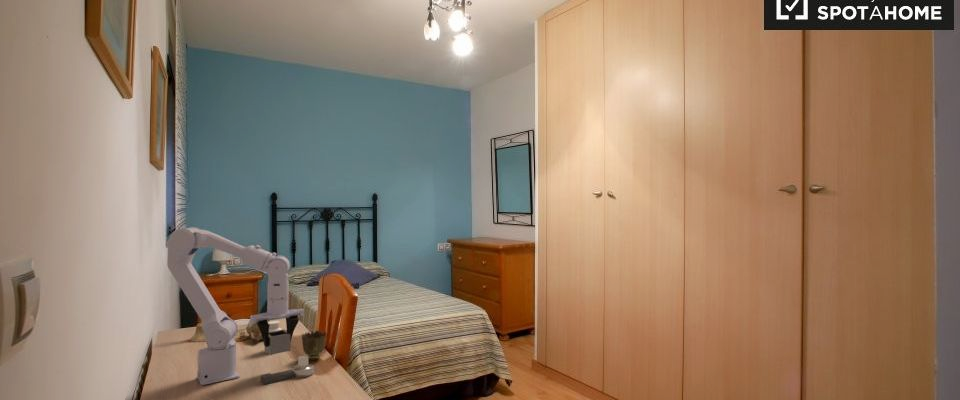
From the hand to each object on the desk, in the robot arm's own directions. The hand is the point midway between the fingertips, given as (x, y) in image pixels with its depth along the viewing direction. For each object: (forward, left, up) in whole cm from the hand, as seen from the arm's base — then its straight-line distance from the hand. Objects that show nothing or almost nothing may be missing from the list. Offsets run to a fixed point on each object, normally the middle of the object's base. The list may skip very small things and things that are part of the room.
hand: (277, 343), depth 135 cm
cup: (+13, +5, -9) cm, 16 cm away
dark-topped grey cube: (0, 0, -2) cm, 2 cm away
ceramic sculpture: (+5, +38, -9) cm, 40 cm away
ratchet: (+1, -6, -8) cm, 10 cm away
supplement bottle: (+5, +21, -9) cm, 23 cm away
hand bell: (-11, +51, -9) cm, 53 cm away
